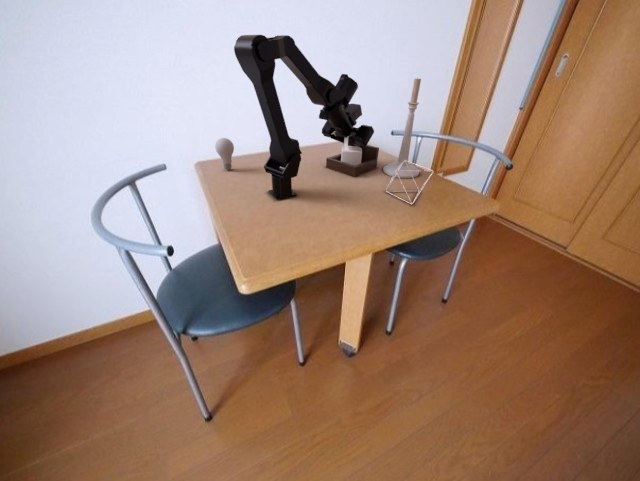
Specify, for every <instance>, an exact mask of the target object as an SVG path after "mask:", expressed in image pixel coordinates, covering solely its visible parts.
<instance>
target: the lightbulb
mask: <svg viewBox="0 0 640 481" xmlns="http://www.w3.org/2000/svg"><path fill="white" fill-rule="evenodd" d="M214 149H215V151H216V153H217V154H218V156H219V158H220V159H221V163H222V164H223V169H224V170H226V171H229V170H231V169H232V163H233V161H232V157H233V154H234V151H235V146H234V143H233V141H231V139H229V138H226V137H221V138H218V139H217V140H216V142H215V144H214Z"/></svg>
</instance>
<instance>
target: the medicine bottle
mask: <svg viewBox="0 0 640 481" xmlns="http://www.w3.org/2000/svg"><path fill="white" fill-rule="evenodd" d="M354 137H355V135H351V136H350V137H347V138H345V137H344V143H343V145H342V146H341V153H342V154H341V153H340V154H341V162H345V163H348V164H351V165H358V164H361V159H362V149H361V148H359V147H357V146H356V145H354V144H353V142H354Z"/></svg>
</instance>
